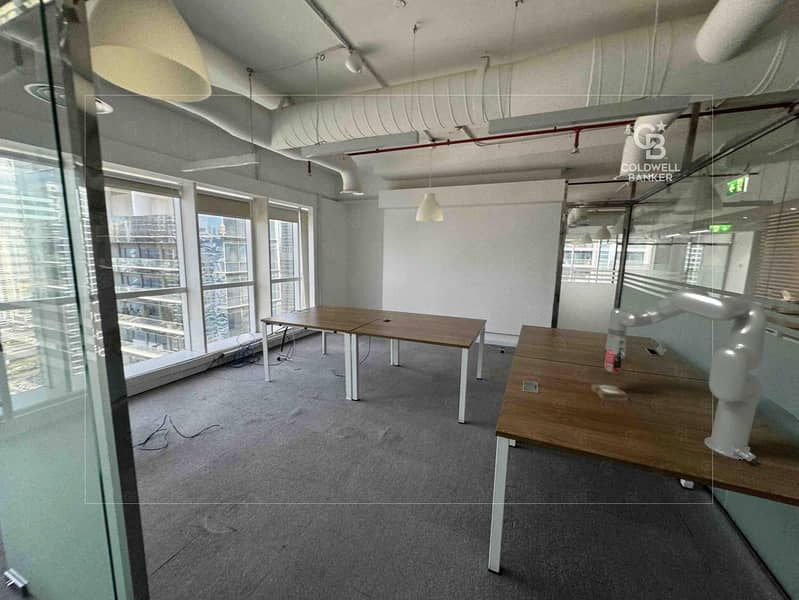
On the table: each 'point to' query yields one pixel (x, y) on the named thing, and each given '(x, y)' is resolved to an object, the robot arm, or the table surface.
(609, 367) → the soda can
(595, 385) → the base
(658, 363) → the table surface
